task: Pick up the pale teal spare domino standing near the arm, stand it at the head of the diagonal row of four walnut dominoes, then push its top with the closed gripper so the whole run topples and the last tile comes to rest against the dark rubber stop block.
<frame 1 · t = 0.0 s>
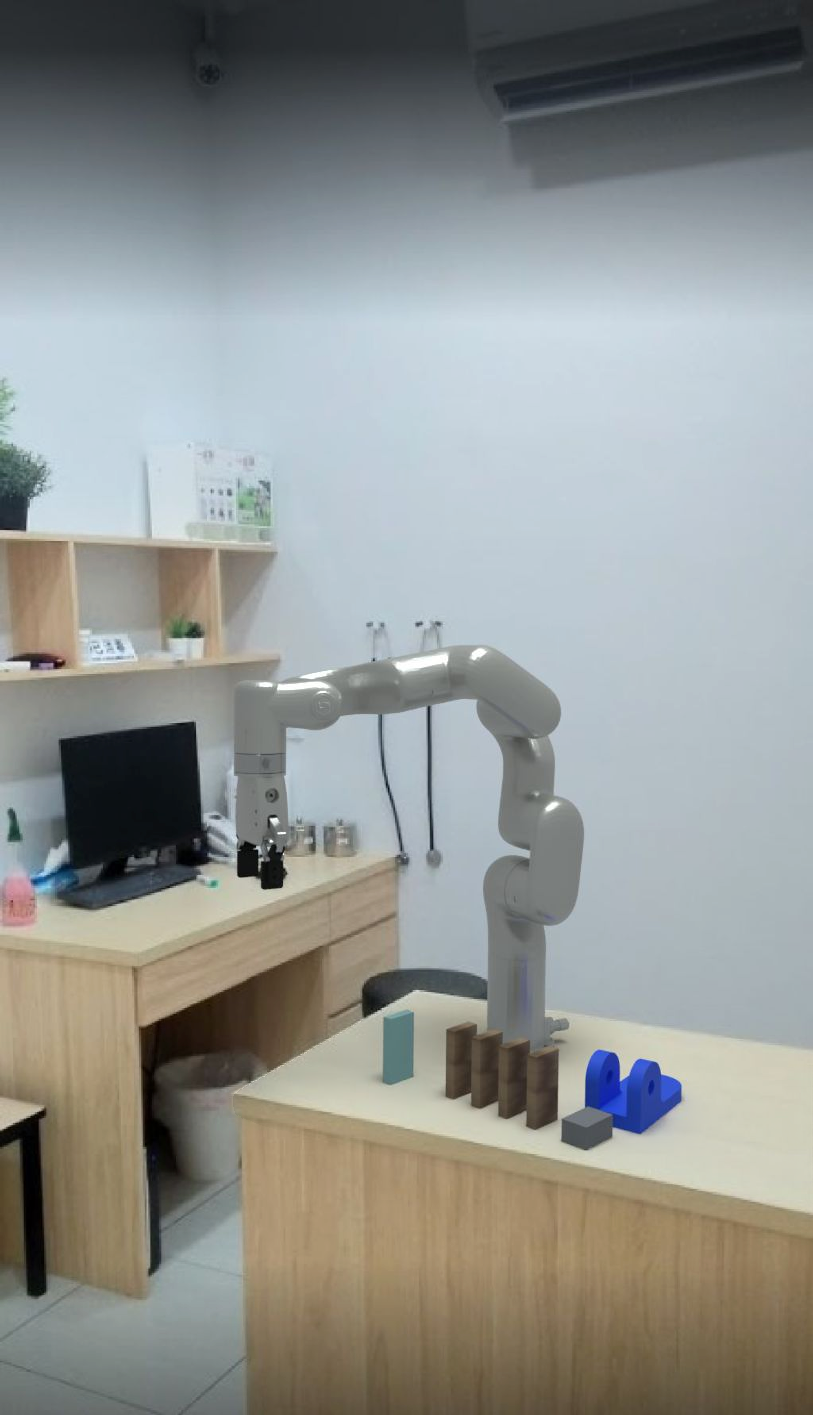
hand: (259, 882, 166), 31 cm above the table, fingers open, 9 cm apart
tile 4: (513, 1112, 161), on the table
tile 2: (460, 1093, 168), on the table
tile 3: (486, 1102, 165), on the table
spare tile: (398, 1079, 174), on the table
stop block: (587, 1138, 152), on the table
tile 5: (542, 1122, 158), on the table
bracket: (638, 1108, 164), on the table
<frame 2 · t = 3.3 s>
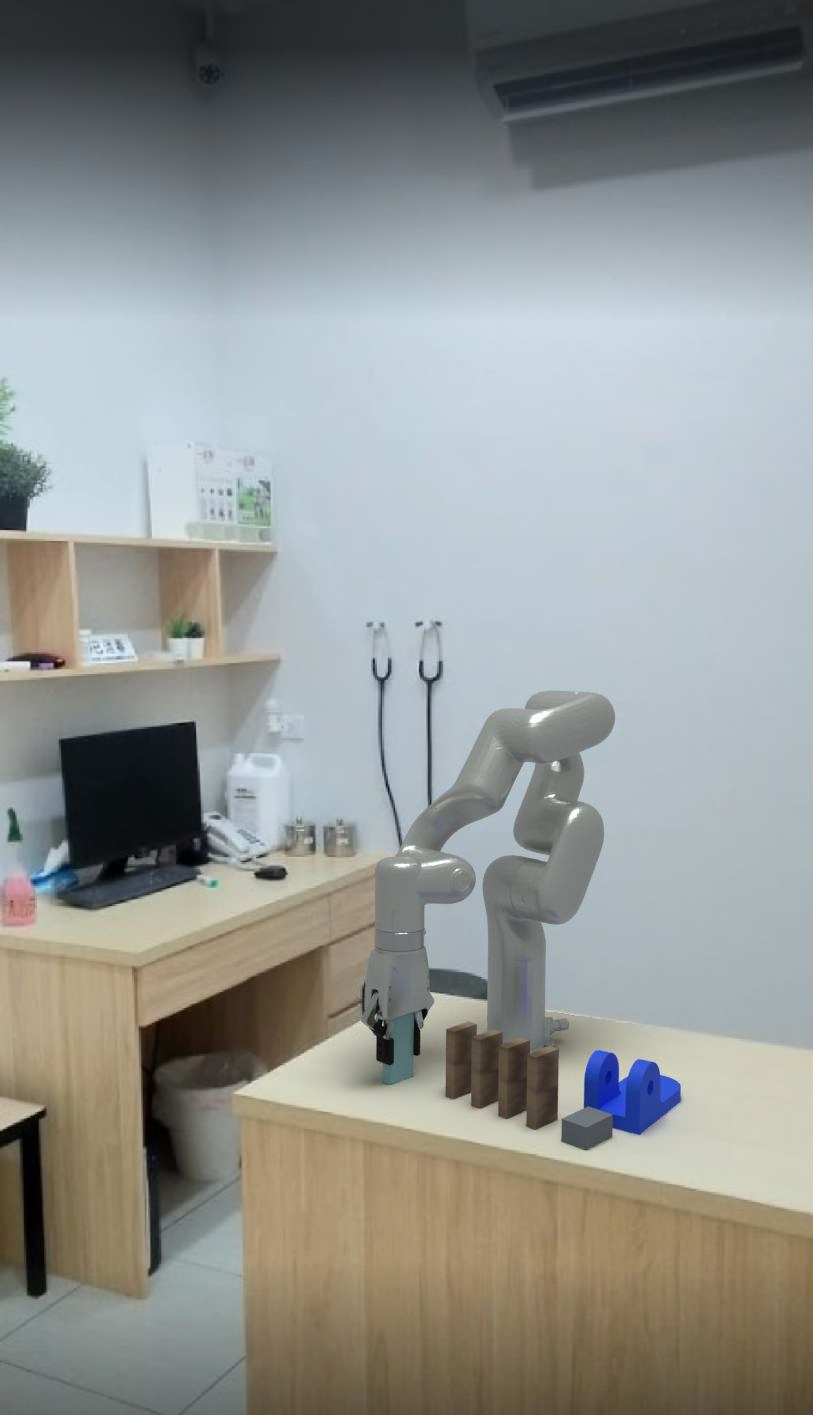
hand: (398, 1056, 173), 3 cm above the table, fingers closed on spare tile, 5 cm apart
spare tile: (398, 1079, 174), on the table, touching gripper
everything else where it was.
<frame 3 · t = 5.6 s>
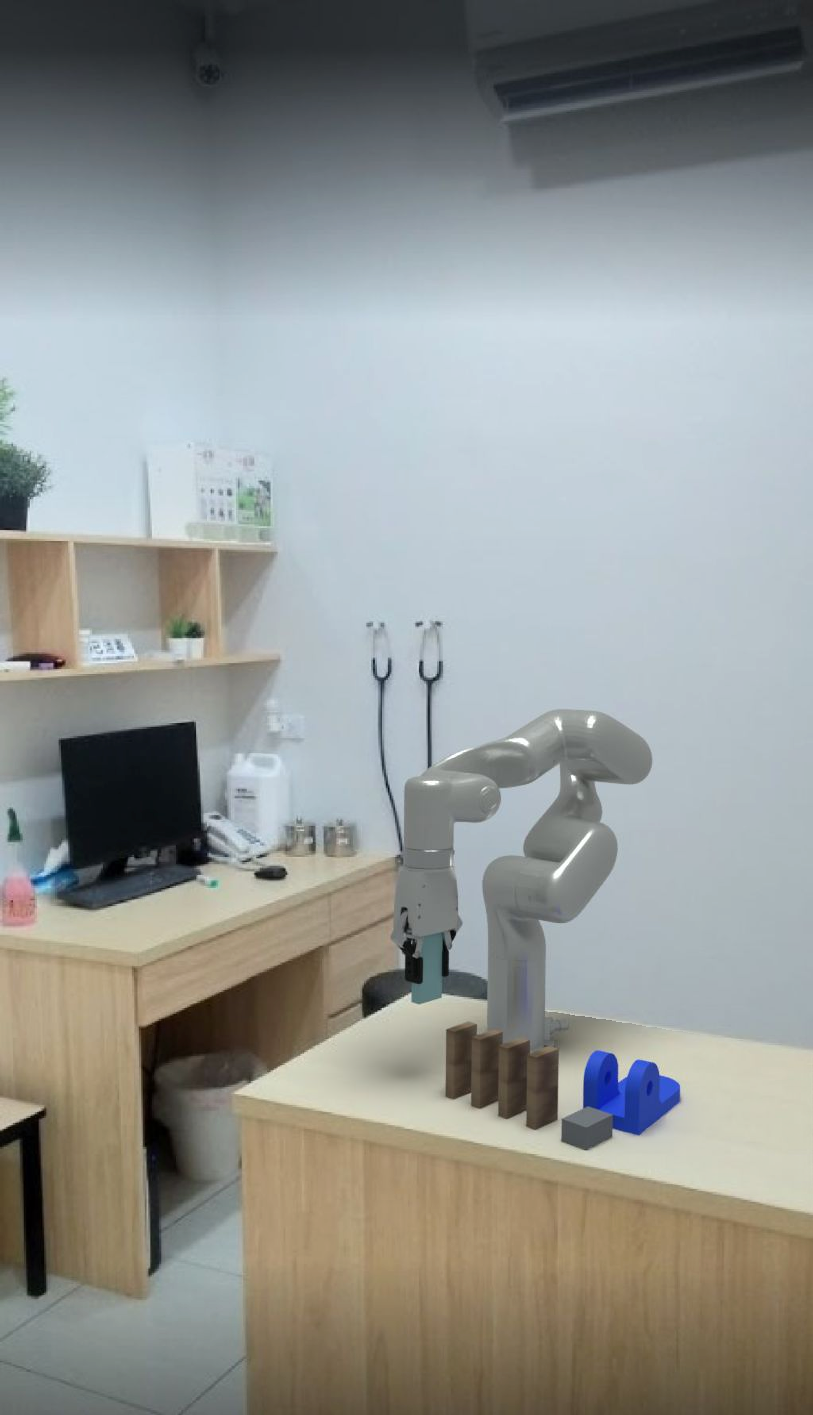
hand: (426, 977, 172), 16 cm above the table, fingers closed on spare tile, 5 cm apart
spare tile: (426, 999, 172), point 12 cm above the table, touching gripper
everything else where it was.
when the fingers open (4 cm above the table, at t = 7.9 s): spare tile stays where it is, on the table.
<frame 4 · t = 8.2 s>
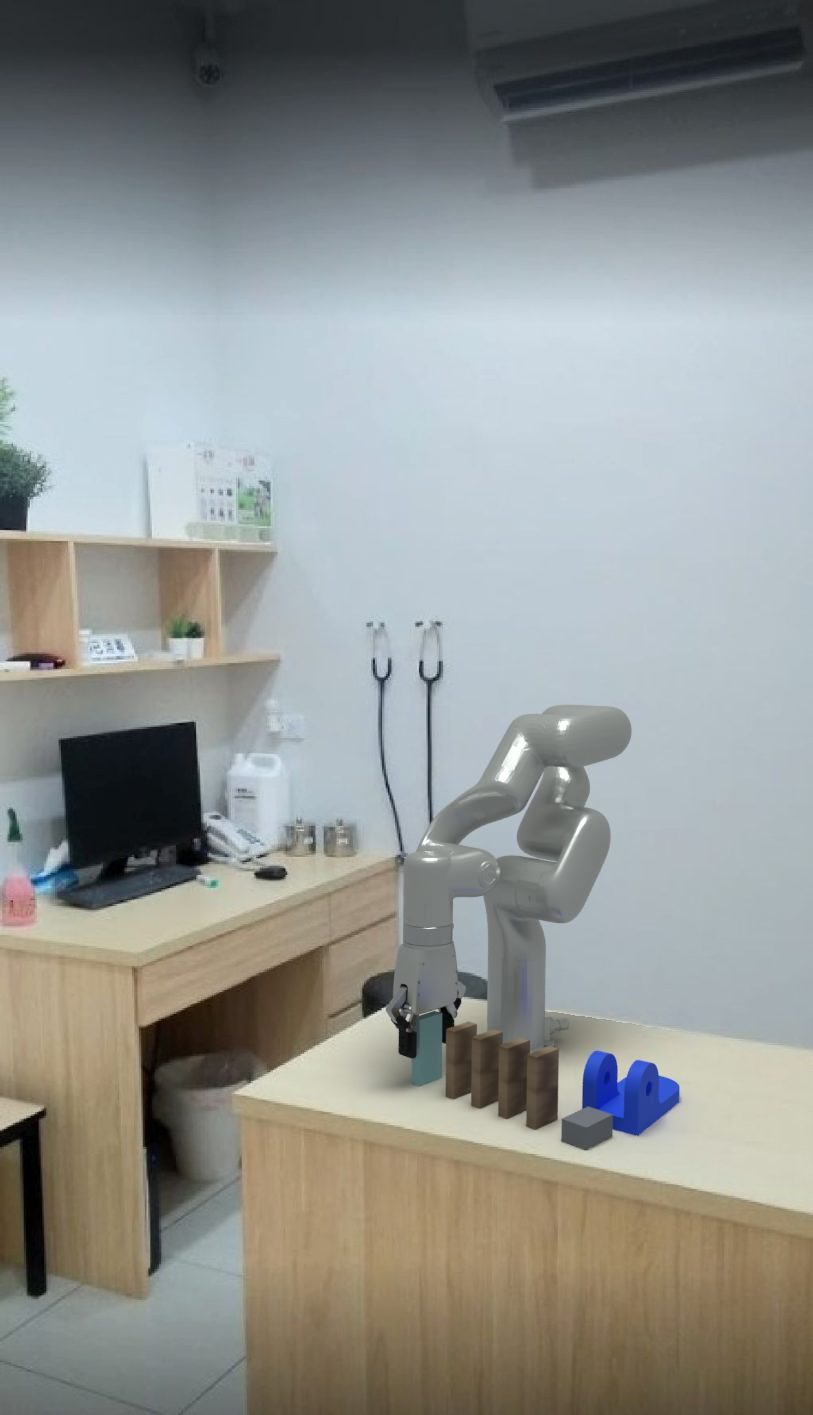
hand: (426, 1048, 173), 5 cm above the table, fingers open, 7 cm apart
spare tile: (426, 1080, 173), on the table
everything else where it was.
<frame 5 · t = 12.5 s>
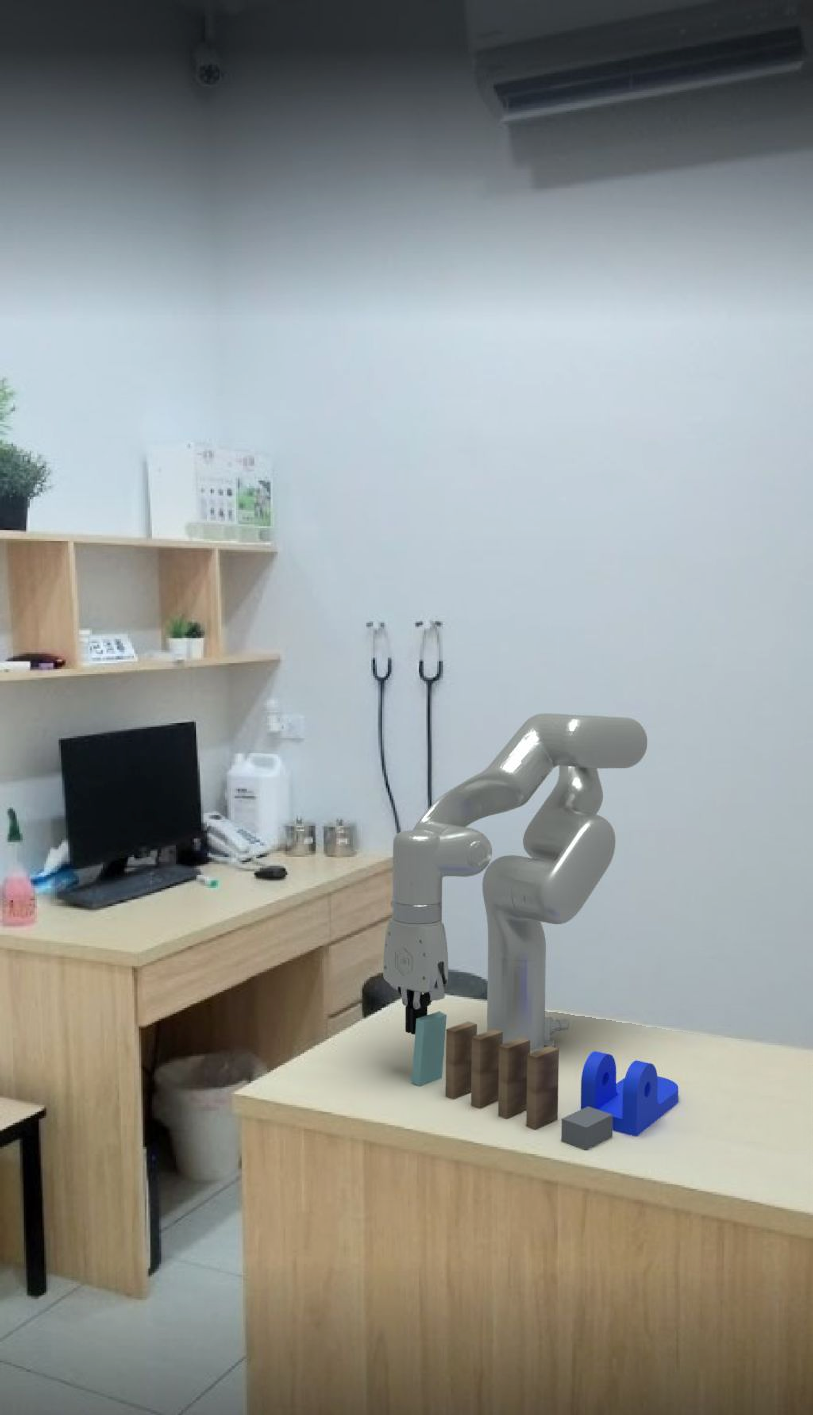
hand: (416, 1031, 174), 7 cm above the table, fingers closed
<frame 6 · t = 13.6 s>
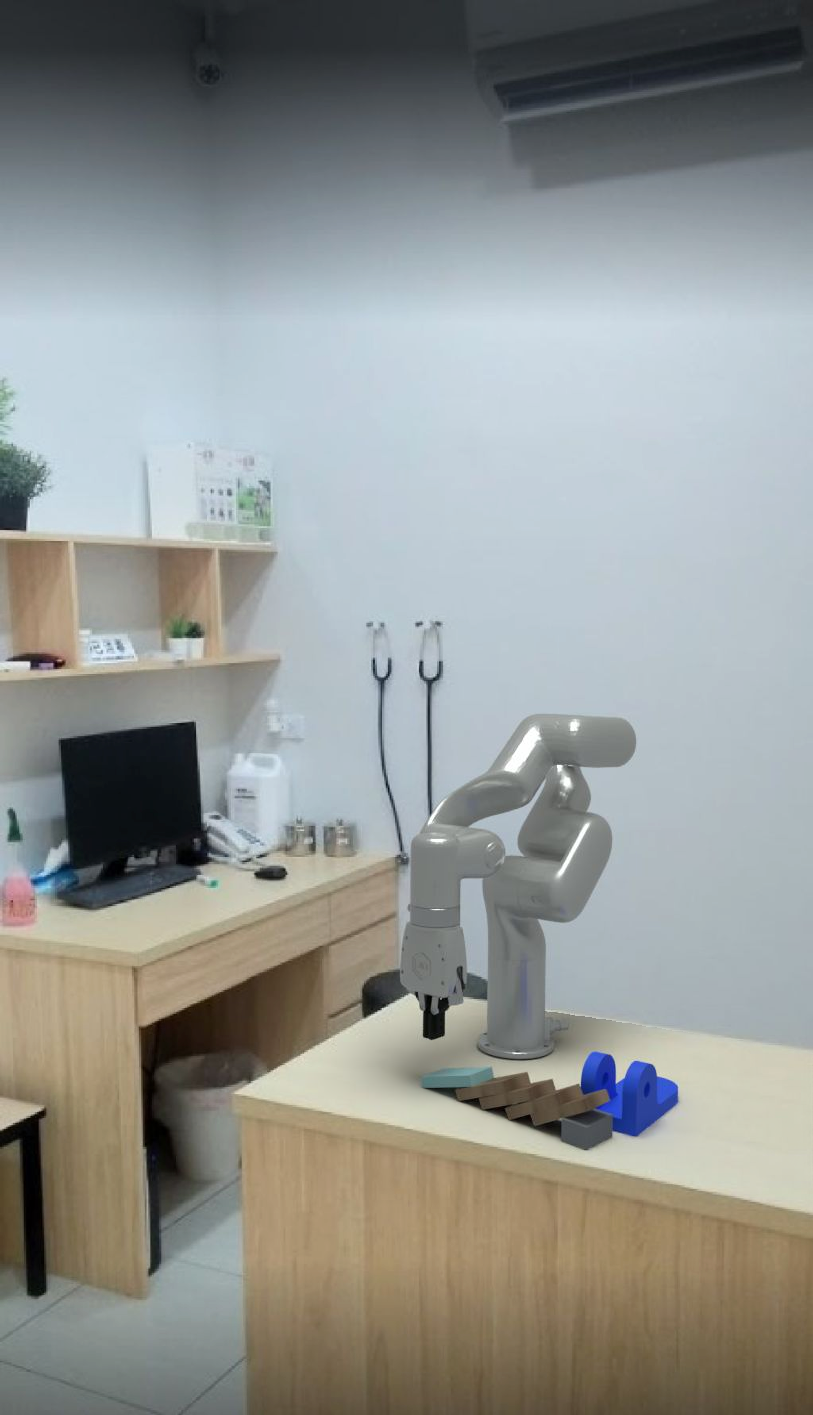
hand: (433, 1036, 172), 7 cm above the table, fingers closed
tile 4: (518, 1109, 161), point 1 cm above the table, tilted 63°, touching tile 3, tile 5
tile 2: (468, 1090, 167), point 1 cm above the table, tilted 68°, touching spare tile, tile 3
tile 3: (491, 1099, 164), point 1 cm above the table, tilted 67°, touching tile 2, tile 4
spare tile: (433, 1077, 172), point 1 cm above the table, tilted 74°, touching tile 2
tile 5: (543, 1114, 157), point 1 cm above the table, tilted 63°, touching stop block, tile 4
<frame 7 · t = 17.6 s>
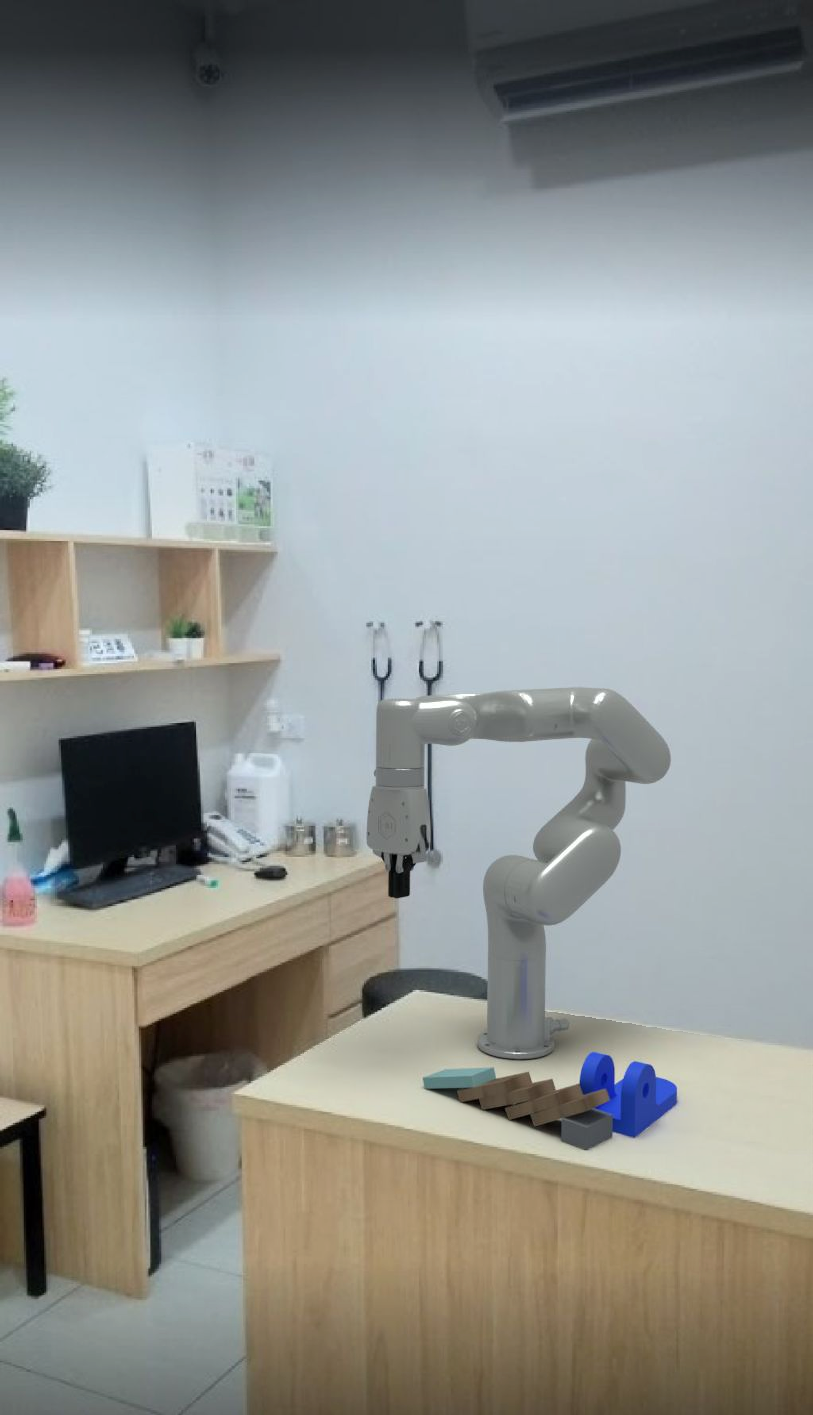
hand: (399, 896, 177), 27 cm above the table, fingers closed
tile 2: (469, 1091, 167), point 1 cm above the table, tilted 67°, touching tile 3
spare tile: (435, 1078, 172), point 1 cm above the table, tilted 74°
at the end: tile 5 tilted 62°; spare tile tilted 74°; the gripper is holding nothing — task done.
